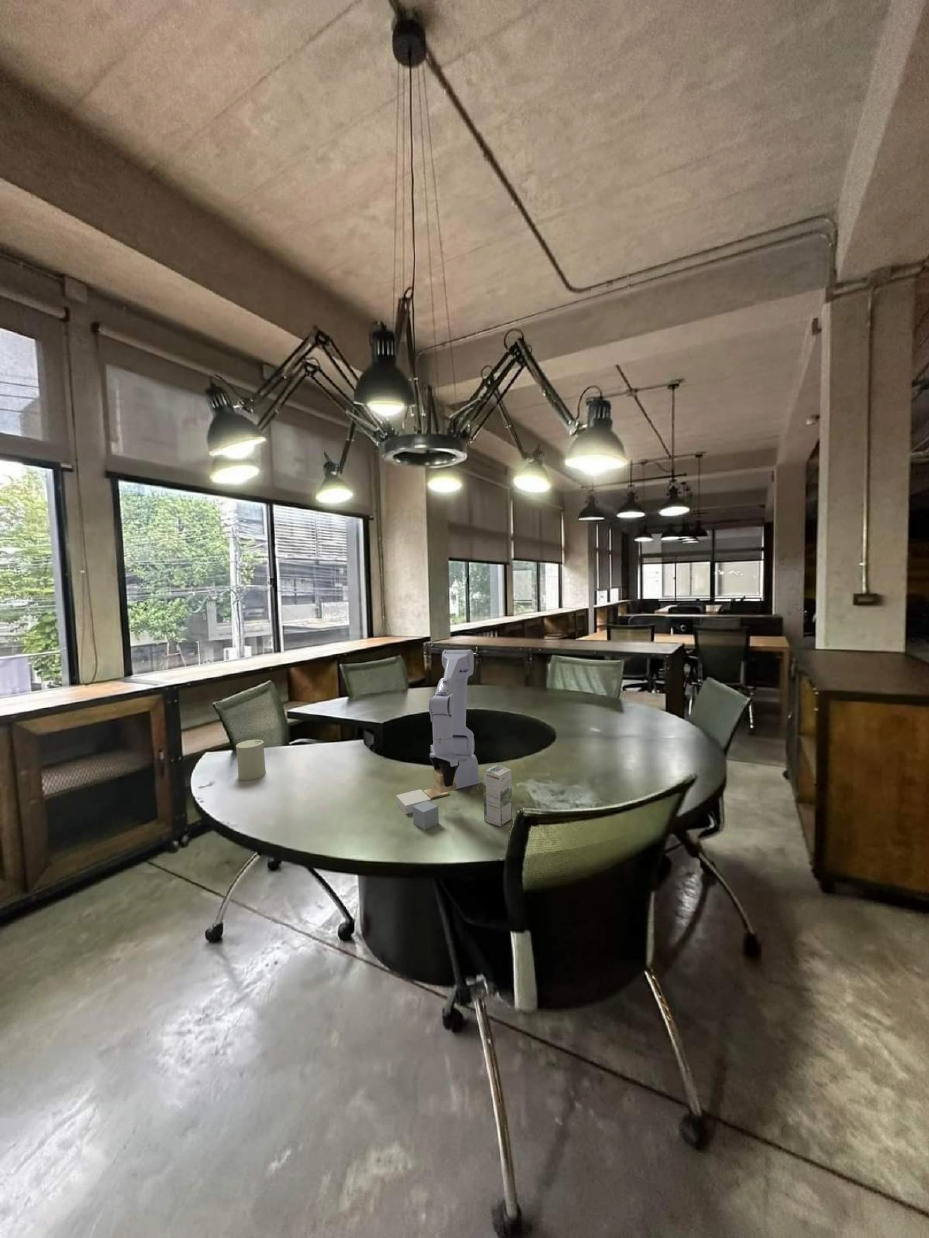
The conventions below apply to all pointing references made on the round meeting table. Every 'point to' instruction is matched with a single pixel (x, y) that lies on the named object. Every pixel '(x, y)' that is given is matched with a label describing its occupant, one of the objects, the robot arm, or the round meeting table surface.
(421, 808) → the slate cube
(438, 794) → the tile
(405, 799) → the base block
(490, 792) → the syrup box
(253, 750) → the can
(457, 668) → the robot arm
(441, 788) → the maple cube
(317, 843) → the round meeting table surface
